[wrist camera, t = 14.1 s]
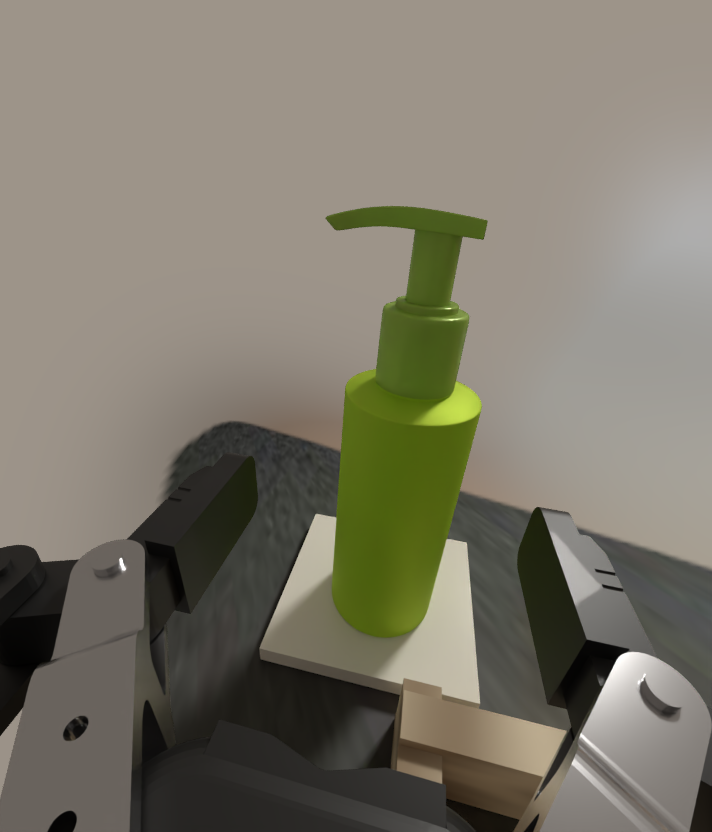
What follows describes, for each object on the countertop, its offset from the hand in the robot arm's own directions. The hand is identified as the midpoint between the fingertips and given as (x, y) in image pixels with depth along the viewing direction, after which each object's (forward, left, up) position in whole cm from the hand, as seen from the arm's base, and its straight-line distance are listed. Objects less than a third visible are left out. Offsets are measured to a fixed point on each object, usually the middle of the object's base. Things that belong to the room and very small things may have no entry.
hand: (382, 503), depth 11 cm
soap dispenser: (0, -7, -13) cm, 14 cm away
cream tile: (0, -7, -13) cm, 15 cm away
